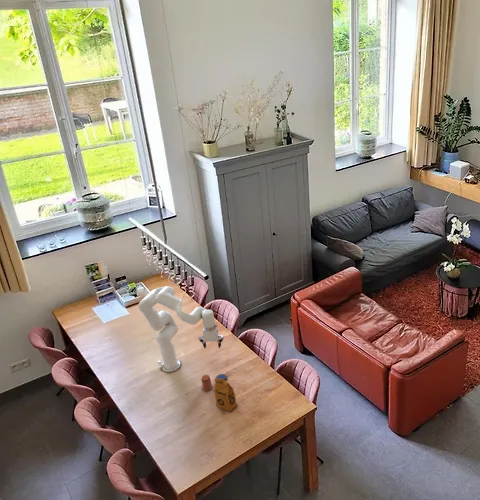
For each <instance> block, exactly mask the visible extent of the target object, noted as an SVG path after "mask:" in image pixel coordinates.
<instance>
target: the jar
mask: <svg viewBox="0 0 480 500" xmlns="http://www.w3.org/2000/svg"><path fill="white" fill-rule="evenodd" d="M211 379H212V378H211V377H210V375H209V374H204V375H202V376H201V379H200V380H201V381H200V382H201V386H202V390H203V391H204V392H209V391H210V390H212V388H213V386H212V380H211Z"/></svg>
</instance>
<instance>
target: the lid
mask: <svg viewBox="0 0 480 500" xmlns="http://www.w3.org/2000/svg"><path fill="white" fill-rule="evenodd" d="M216 378H218V379H223V380H225V381H227V375H225V374H223V373H220V374H218V375H216V376H215V379H216Z"/></svg>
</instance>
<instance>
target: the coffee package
mask: <svg viewBox="0 0 480 500" xmlns="http://www.w3.org/2000/svg"><path fill="white" fill-rule="evenodd" d="M214 381H215V382H214V388H213V393H214V398H215V403H216V407H217V408H219V409H222V410H224V411H227V412H232V411H233V410H234V409H235V408H236V407H237V399H236V398H237V397H236V393H235V390H234V388H233V387H232V385H231V384H230V383H229V382H227V380H223V379H218V378H216V377H215V379H214Z"/></svg>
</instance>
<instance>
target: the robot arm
mask: <svg viewBox="0 0 480 500" xmlns="http://www.w3.org/2000/svg"><path fill="white" fill-rule="evenodd" d="M175 295H176V290H175V288H173V287H172V286H170V285H165V286H161V287H156V288H154V289H152V290H151V291H150V292H149V293H148V294H147V295H145V296H144V297H143V298H142V299H141V300H140V301H139V303H138V305H137V308H138V310H139V312H140V313H141V314H142V315H143V316H144V318H145V319H146V321H147V322H148V324H149V326H150V327H151V329H152V330H153V331H155V332H158V333H157V334H156V335H155V336H156V338H155V339H156V342H157V344H158V346H159V350H160V353H161V358H162V360H158V361H157V365H158V366H159V367H161V369H162V370H163V372H165V373H172V372H174V371H177V370H178V369H180V367H181V361H180V360H179V359H178V357H177V352H176V348H175V344H174V342H172V340H173V339H174V337H175V336H176V335H177V334H178V332H179V327H178V324H177V323H176V322H175V319H174V318H173V316H172V315H171V313H170V312H169V311H167V310H162V309H161V310H159V311H158V310H157V309H156V308H154V307H155V306H156V305H157V304H159V305H161V306H163V307H166V308H168V309H170V310H171V311H173V312H175V313H176V316H177V317H178V318H179V319H180V320H181V321H182V322H183V323H186V324H189V325H192V326H193V325H197V324H198V323H199V322H200V321H201V319H202V326H203V327H202V335H200V336H198V337H197V340H199V342H200V343H201V344H202V347H203V349H206V348H207V342H208V343H213V342H215V343H217V346H218V349H221V347H222V342H223V341H224V339H225V336H224V335H221V334H220V332H219V329H218V324H216V322H215V321H216V320H215V314H214V313H215V312H214V311H213V310H212V309H208V308H205V307H203V306H196V307H195V308H194V309H193V310H192V311H191V312H190V313H187V312H185V311H184V310H183V308H182V307H183V299H182V298H179V297H177V296H175Z"/></svg>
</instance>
